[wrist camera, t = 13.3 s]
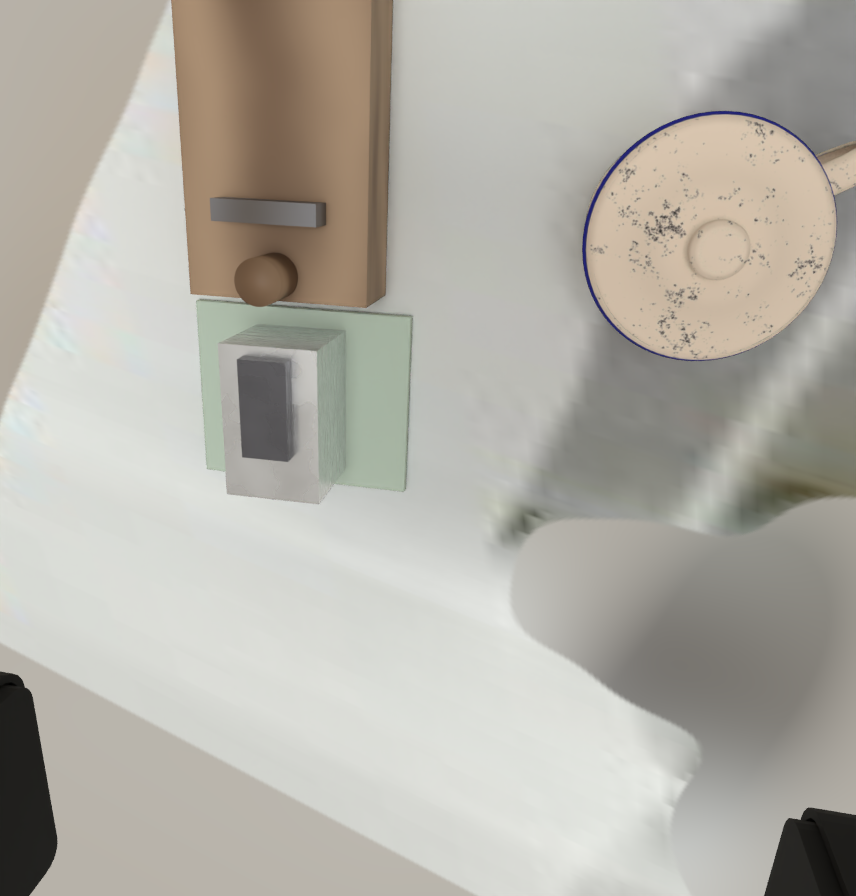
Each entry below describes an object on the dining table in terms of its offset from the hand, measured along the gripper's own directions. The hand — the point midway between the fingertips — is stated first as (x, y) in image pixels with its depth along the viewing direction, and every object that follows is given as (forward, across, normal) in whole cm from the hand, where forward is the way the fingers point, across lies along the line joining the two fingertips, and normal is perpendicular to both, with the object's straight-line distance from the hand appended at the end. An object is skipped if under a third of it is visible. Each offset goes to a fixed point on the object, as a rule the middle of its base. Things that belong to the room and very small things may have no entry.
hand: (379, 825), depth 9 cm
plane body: (+32, +12, -10) cm, 36 cm away
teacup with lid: (+32, -8, -6) cm, 34 cm away
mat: (+32, +12, +5) cm, 35 cm away
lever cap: (+32, +12, +5) cm, 34 cm away
